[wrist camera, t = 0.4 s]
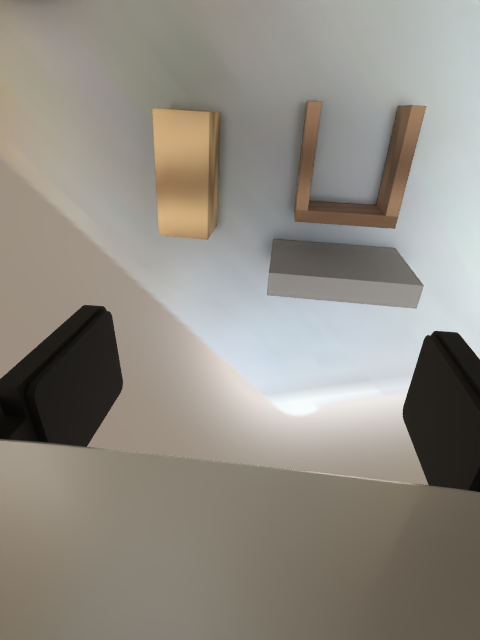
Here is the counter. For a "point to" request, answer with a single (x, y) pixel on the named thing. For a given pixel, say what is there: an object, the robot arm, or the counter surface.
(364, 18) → the counter surface
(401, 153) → the cradle
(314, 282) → the wall
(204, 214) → the oak bar
